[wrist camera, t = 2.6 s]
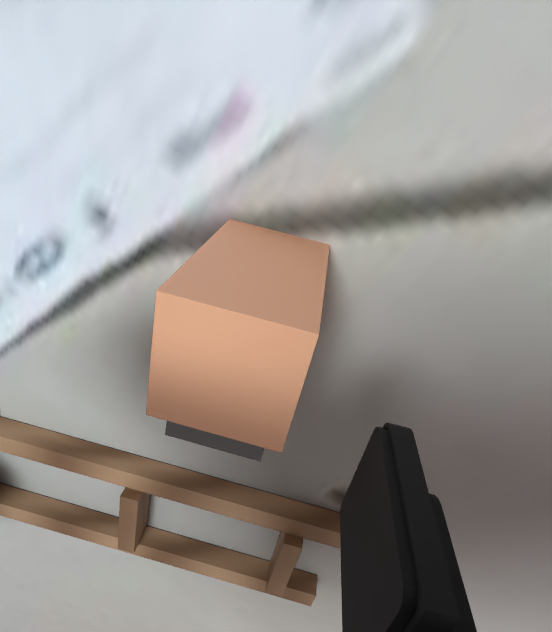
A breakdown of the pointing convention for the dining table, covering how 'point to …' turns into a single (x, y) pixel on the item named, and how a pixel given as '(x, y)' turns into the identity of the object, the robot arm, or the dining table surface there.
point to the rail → (176, 486)
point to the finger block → (237, 338)
